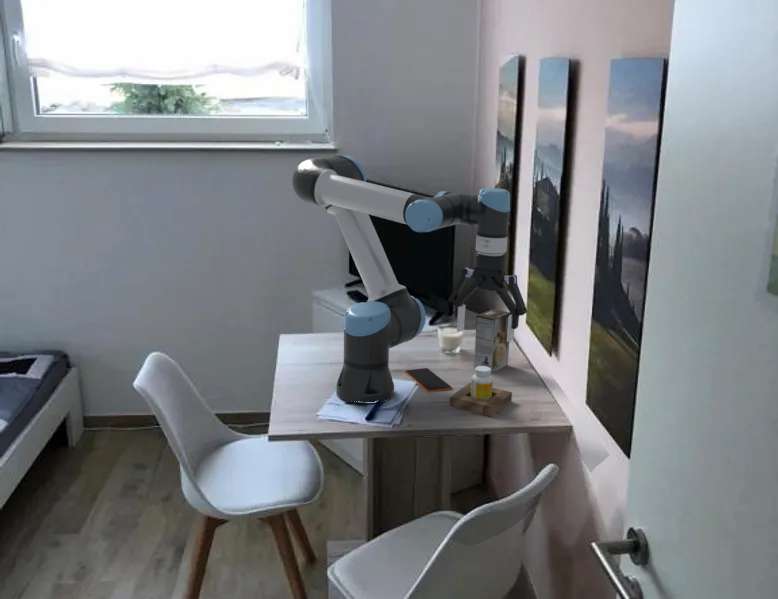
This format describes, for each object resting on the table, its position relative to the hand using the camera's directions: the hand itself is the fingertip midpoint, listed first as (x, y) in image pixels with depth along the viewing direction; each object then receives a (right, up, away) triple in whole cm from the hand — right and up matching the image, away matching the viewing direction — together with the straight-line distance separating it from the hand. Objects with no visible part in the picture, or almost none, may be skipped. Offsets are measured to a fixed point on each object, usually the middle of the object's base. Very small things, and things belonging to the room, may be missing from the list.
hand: (484, 335), depth 212 cm
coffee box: (+5, -11, +32) cm, 34 cm away
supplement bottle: (-1, -18, +5) cm, 19 cm away
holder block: (0, -18, +5) cm, 18 cm away
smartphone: (-13, -14, +20) cm, 28 cm away
